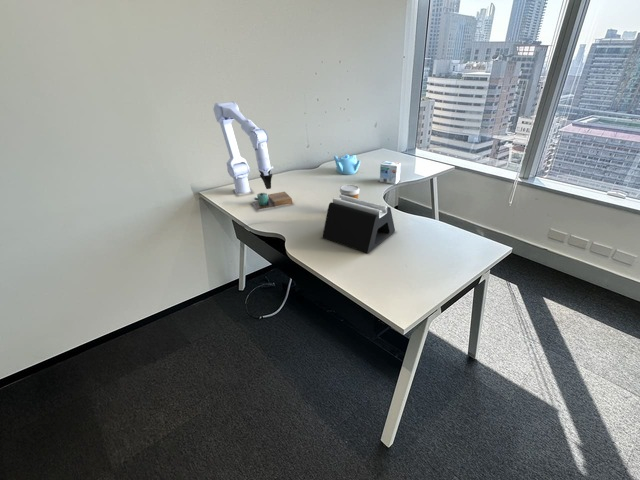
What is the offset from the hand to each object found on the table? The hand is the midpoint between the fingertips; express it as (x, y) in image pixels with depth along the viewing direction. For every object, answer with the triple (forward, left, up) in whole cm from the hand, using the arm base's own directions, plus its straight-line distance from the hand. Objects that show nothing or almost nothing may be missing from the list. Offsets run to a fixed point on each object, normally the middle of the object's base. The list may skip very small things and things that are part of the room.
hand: (268, 186), depth 161 cm
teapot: (-30, +59, -10) cm, 67 cm away
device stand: (+50, +24, -10) cm, 57 cm away
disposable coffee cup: (+26, +32, -10) cm, 42 cm away
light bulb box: (-1, +73, -10) cm, 74 cm away
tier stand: (-1, +1, -10) cm, 10 cm away
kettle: (-1, -3, -9) cm, 9 cm away
